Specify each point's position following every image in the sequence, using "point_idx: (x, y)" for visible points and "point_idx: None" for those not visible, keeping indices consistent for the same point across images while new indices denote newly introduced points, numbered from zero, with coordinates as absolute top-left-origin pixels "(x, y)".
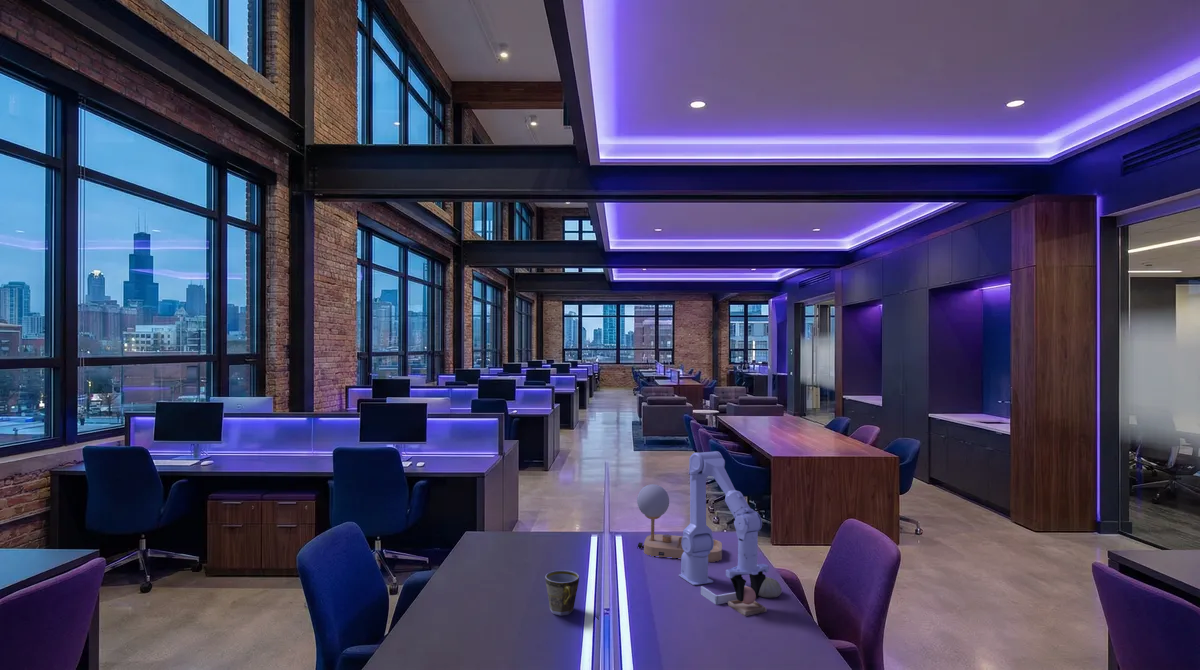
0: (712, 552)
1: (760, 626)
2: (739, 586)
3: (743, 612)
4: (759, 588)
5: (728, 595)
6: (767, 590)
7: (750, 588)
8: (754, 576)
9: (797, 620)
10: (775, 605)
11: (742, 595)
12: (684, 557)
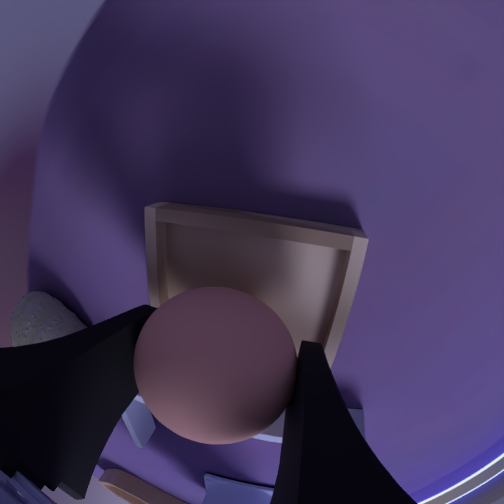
0: (132, 494)
1: (378, 50)
2: (386, 477)
3: (362, 251)
4: (77, 336)
5: (278, 430)
6: (55, 331)
7: (166, 397)
8: (48, 456)
9: (99, 47)
10: (77, 242)
11: (319, 375)
12: None
